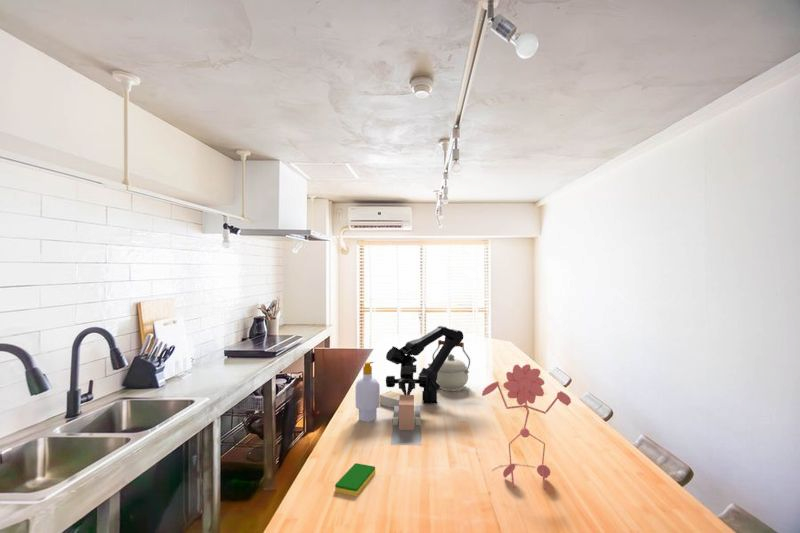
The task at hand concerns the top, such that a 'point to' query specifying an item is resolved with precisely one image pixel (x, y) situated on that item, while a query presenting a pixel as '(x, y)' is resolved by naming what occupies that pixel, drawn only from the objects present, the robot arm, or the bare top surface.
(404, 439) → the chute
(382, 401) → the supplement box
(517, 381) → the figurine
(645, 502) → the top surface
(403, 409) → the block
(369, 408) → the soap bottle
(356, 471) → the dish sponge
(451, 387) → the kettle
